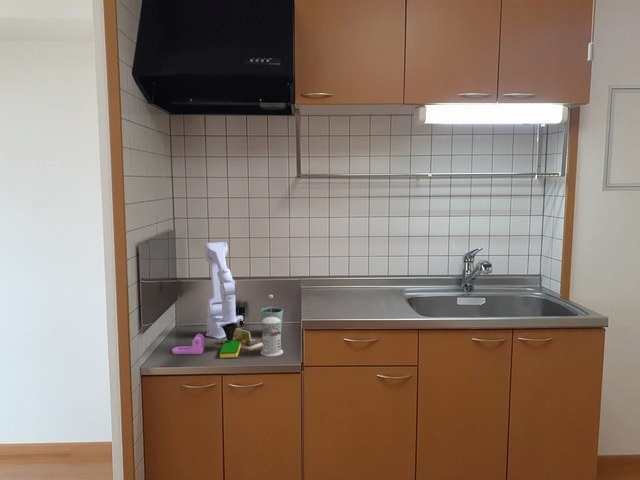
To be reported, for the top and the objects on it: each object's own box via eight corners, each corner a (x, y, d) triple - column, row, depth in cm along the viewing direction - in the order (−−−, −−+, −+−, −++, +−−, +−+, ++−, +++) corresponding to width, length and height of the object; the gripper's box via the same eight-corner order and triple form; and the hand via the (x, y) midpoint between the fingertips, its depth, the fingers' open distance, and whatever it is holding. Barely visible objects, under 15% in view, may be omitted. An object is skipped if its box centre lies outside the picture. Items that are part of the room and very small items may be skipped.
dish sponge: (220, 358, 201) (219, 352, 201) (225, 345, 215) (225, 340, 214) (237, 357, 201) (236, 351, 201) (241, 344, 215) (241, 339, 215)
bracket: (204, 349, 212) (203, 333, 212) (201, 353, 207) (201, 338, 206) (174, 349, 212) (173, 334, 211) (170, 354, 207) (169, 338, 206)
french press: (262, 357, 202) (260, 298, 199) (258, 347, 213) (256, 291, 210) (285, 354, 205) (284, 296, 202) (280, 345, 216) (279, 290, 213)
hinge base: (263, 345, 217) (263, 338, 217) (249, 350, 210) (249, 344, 210) (235, 337, 228) (235, 331, 227) (221, 342, 221) (221, 336, 220)
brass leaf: (251, 330, 213) (247, 332, 211) (253, 344, 214) (250, 346, 213) (228, 325, 221) (225, 327, 219) (231, 338, 223) (227, 340, 221)
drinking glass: (259, 332, 234) (258, 308, 233) (279, 330, 238) (279, 306, 237) (265, 339, 225) (264, 313, 223) (286, 336, 229) (285, 311, 227)
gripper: (222, 314, 203) (223, 346, 204) (247, 307, 214) (248, 337, 216) (211, 312, 207) (212, 343, 209) (236, 305, 218) (237, 334, 220)
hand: (229, 340), depth 212 cm, fingers closed
